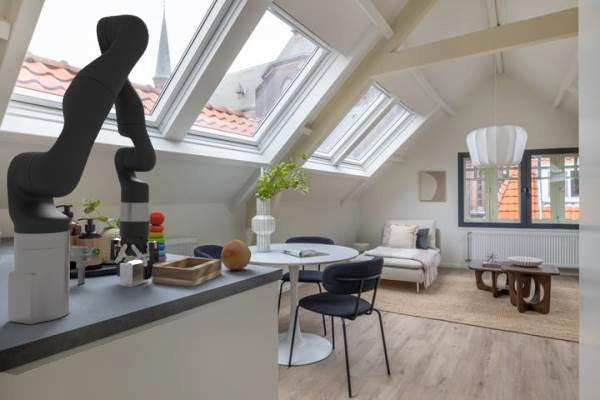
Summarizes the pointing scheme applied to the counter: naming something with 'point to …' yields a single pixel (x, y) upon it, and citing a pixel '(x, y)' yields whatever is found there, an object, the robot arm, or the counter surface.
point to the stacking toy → (157, 234)
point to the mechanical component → (83, 259)
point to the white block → (132, 273)
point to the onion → (236, 255)
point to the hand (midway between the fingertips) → (134, 277)
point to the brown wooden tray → (186, 271)
